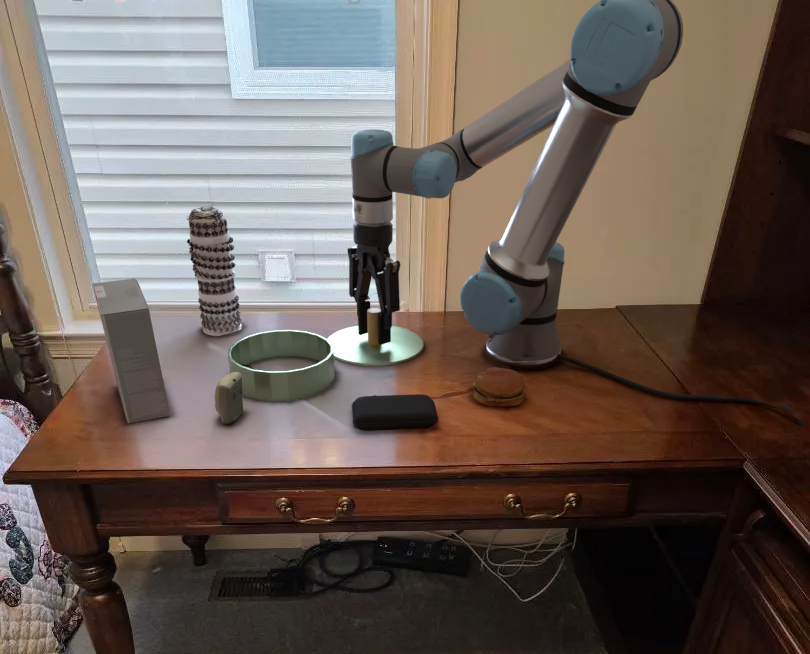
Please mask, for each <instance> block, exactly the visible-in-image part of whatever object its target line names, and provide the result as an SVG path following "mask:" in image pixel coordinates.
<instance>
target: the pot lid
mask: <svg viewBox="0 0 810 654" xmlns="http://www.w3.org/2000/svg"><path fill="white" fill-rule="evenodd" d="M380 311H381V310H380V308H378V307H370V309H368V310H367V328H368V333H366V334H363V335H359V334H358V325H354V326H349V327H345V328H343V329H340V330H337V331H335V332H334V333H332V334H331V335H329V336H328V337H327V339H328V340H329V341H330V342H331V344H332V345H333V350H334V360H338V361H340V362H342V363H345V364H350V365H355V366H361V367H387V366H394V365H399V364H403V363H406V362H408V361H411V360H413V359H415V358H416V357H418V356H419V355H421V353H422V352H423V349H424V340H423V338H422V337H421V336H420V335H419V334H418V333H416V332H414V331H412V330H410V329H408V328H404V327H401V326H396V325H392V328H391V342H388V343H385V344H382V345H380V344H378V312H380Z"/></svg>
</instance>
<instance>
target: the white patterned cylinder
mask: <svg viewBox="0 0 810 654" xmlns="http://www.w3.org/2000/svg"><path fill="white" fill-rule="evenodd" d="M227 219H228V215H227V214H226V213H224V212H223V210H221V208H219V207H216V206H210V205H209V206H207V205H206V206H198V207H195V208H193V209H191V210H190V212H189V215H187V216H186V220H187V221H188V228H189V238H188V239H187V240H186V243H187V244H188V246H189V251H188V252H189V254H190V261H191V262H192V271H193V272H194V278H195V279H196V280H197V286H198V290H197V291H198V300H197V302H198V303H199V306H198V308H199V310H200V312H201V313H200V315H199V317H200V319H201V322H200V323H201V326H202V332H203V333H204V334H205V335H208V336H211V337H212V336H213V337H219V336H224V335H228V334H231V333H234V332H238V331H241V330H242V329H243V325H242V318H241V316H242V315H241V314H242V312H241V311H240V303H239V299H240V297H239V296H238V294H237V289H236V288H237V287H236V285H235V277H236V271H235V270H234V268H235V267H236V263H235V262H233V261H234V260H235V257H236V256H235V255H234V254H232V253H231V252H232V251H234V250H235V246H234V245H233V244H232V243H234V238H233V237H232V236H230V230H229V229H228V221H227Z"/></svg>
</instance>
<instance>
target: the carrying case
mask: <svg viewBox="0 0 810 654" xmlns="http://www.w3.org/2000/svg"><path fill="white" fill-rule="evenodd" d="M351 416H352V424H353V425H354V427H355V428H357V429H358V430H360V431H362V432H382V431H383V432H384V431H407V430H408V431H409V430H410V431H411V430H427V429H431V428H433V427H434V426H435V425H437V423H438V422H439V415H438V411H437V407H436V404H435V401H434V399H433V398H431V397H430V395H428V394H423V393H421V394H419V393H418V394H388V395H387V394H386V395H384V394H383V395H376V394H373V395H363V396H358V397H357V398H356V399H355V400H354V401H352V404H351Z"/></svg>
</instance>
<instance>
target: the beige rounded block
mask: <svg viewBox="0 0 810 654" xmlns="http://www.w3.org/2000/svg"><path fill="white" fill-rule="evenodd" d="M214 408H215V411H216V412H217V414H218V415H219V416H220V420H221V425H223V426H226V427H230V426H233V425H235V423H236V422H237V421H238V420H239V419H240V418H241V417H242V416H243V414H244V395H243V389H242V376H241V374H240V373H239V372H233V373H230V372H229V373H227V374H226V375H224V376H223V377H222V378H221V379H220V380H218V382H217V384H216V388H215V393H214Z"/></svg>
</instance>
